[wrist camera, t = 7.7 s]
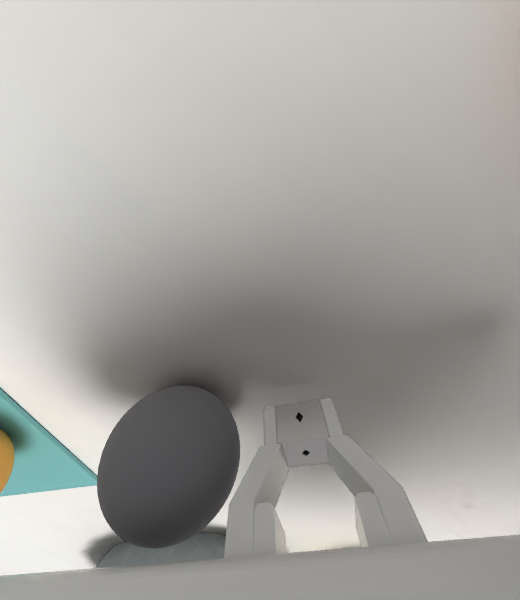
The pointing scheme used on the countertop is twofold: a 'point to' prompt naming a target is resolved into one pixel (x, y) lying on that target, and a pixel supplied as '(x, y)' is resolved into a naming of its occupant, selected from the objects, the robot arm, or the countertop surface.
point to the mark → (38, 455)
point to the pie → (167, 552)
